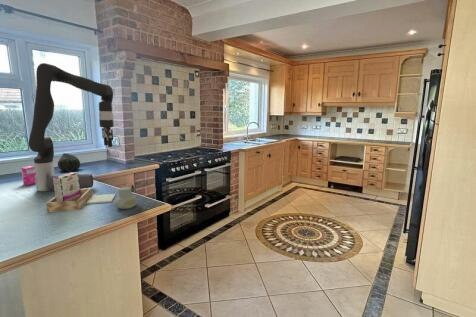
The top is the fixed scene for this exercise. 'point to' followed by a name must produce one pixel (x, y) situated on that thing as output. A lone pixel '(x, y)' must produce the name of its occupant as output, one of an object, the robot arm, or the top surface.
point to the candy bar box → (67, 187)
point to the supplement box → (28, 175)
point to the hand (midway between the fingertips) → (108, 146)
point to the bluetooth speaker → (84, 181)
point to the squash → (68, 162)
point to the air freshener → (125, 198)
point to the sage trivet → (101, 198)
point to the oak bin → (69, 202)
